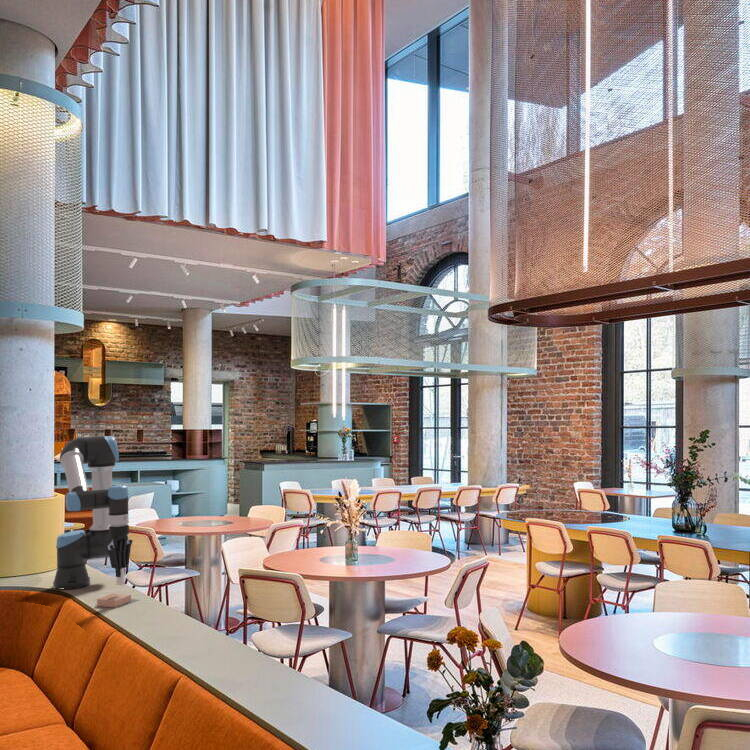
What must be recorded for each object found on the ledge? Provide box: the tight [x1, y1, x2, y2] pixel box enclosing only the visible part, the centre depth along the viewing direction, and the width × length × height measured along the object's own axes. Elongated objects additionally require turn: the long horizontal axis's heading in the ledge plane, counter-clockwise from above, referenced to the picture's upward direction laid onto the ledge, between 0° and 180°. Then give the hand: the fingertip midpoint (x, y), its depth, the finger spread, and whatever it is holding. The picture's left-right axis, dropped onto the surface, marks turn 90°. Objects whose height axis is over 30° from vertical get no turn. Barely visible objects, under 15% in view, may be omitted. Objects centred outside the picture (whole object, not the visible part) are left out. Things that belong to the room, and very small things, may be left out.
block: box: [96, 593, 132, 609], centre depth 310 cm, size 3×9×9 cm
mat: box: [94, 598, 140, 609], centre depth 312 cm, size 12×12×1 cm
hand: (120, 584), depth 314 cm, fingers closed
